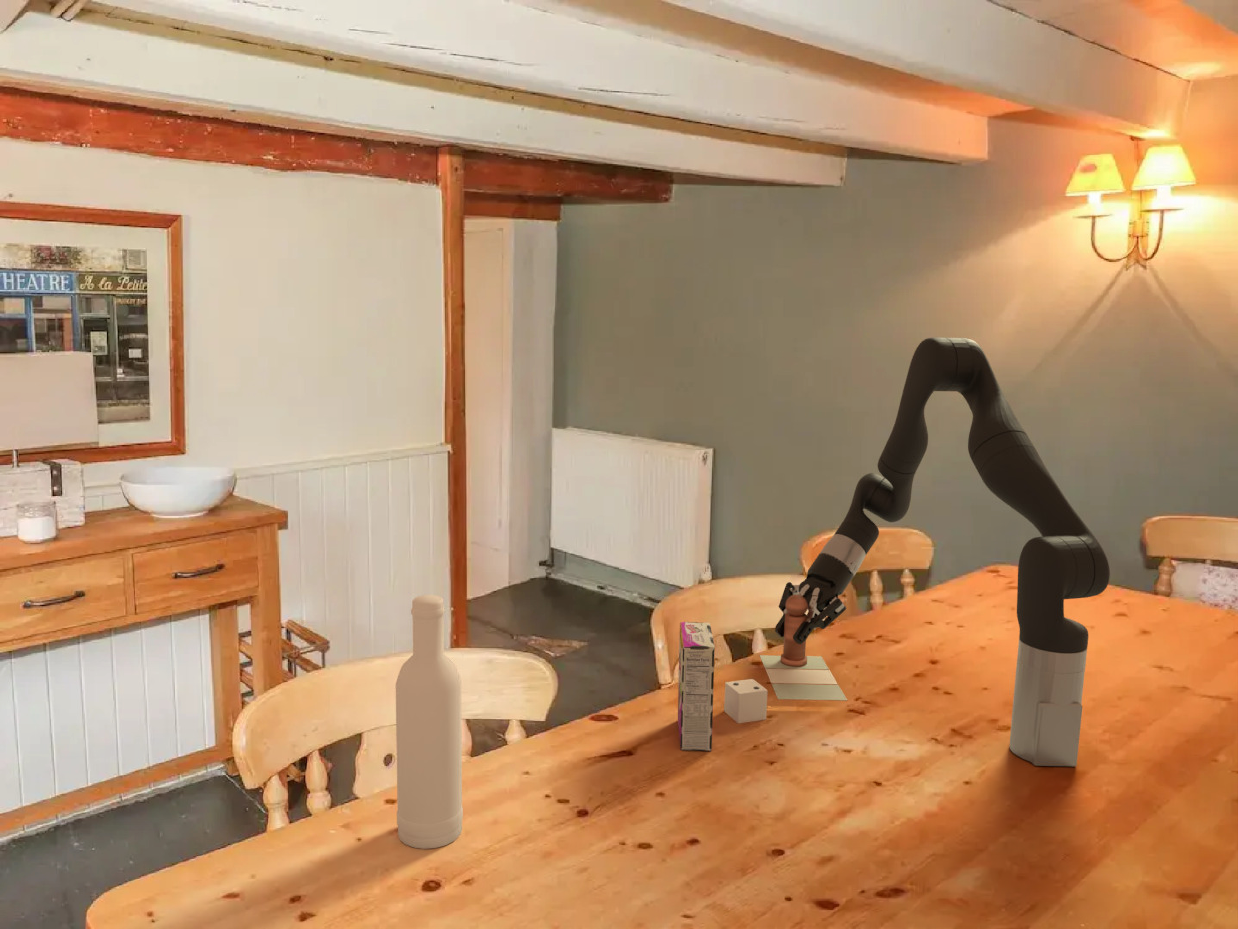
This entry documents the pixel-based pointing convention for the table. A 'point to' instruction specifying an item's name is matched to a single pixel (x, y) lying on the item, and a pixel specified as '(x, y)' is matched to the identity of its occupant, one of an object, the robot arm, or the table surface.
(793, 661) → the pawn
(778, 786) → the table surface
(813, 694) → the board
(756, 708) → the die
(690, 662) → the candy bar box
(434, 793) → the bottle
